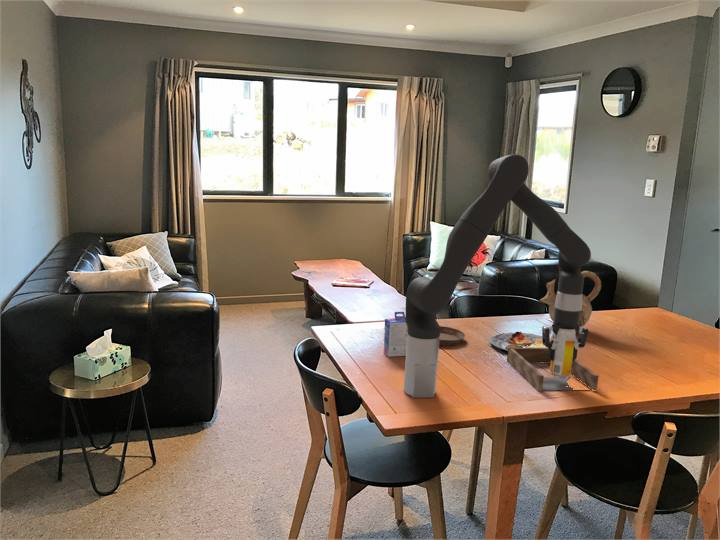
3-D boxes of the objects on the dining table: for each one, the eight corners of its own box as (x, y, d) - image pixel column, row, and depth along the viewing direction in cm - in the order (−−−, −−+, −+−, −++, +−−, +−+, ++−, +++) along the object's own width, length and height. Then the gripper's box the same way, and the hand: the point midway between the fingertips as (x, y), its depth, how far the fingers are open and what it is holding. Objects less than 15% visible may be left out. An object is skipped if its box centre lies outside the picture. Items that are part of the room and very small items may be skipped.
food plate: (514, 333, 229) (515, 324, 228) (570, 349, 213) (571, 340, 212) (478, 347, 212) (478, 338, 211) (536, 366, 196) (537, 356, 195)
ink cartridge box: (408, 350, 203) (411, 310, 201) (415, 355, 198) (418, 314, 195) (382, 352, 200) (384, 311, 197) (388, 357, 195) (390, 315, 192)
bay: (596, 391, 175) (598, 375, 174) (538, 391, 172) (540, 375, 171) (558, 361, 199) (560, 347, 198) (506, 361, 197) (508, 347, 196)
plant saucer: (450, 331, 228) (451, 324, 228) (473, 346, 212) (474, 338, 211) (409, 334, 223) (409, 326, 222) (429, 349, 206) (429, 341, 206)
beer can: (572, 373, 179) (578, 327, 176) (567, 379, 174) (573, 331, 171) (552, 369, 182) (557, 323, 180) (547, 374, 177) (552, 327, 174)
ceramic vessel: (560, 321, 250) (567, 264, 245) (602, 332, 236) (610, 272, 231) (535, 327, 239) (542, 268, 234) (578, 340, 224) (586, 277, 219)
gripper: (550, 309, 170) (544, 364, 173) (597, 310, 171) (590, 364, 175) (539, 303, 177) (534, 355, 180) (584, 303, 179) (577, 355, 182)
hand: (561, 359), depth 177 cm, fingers closed on beer can, 6 cm apart
